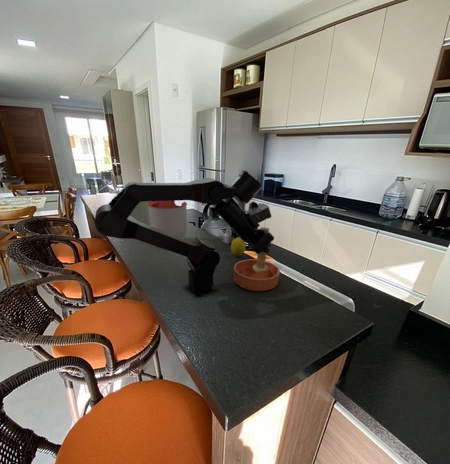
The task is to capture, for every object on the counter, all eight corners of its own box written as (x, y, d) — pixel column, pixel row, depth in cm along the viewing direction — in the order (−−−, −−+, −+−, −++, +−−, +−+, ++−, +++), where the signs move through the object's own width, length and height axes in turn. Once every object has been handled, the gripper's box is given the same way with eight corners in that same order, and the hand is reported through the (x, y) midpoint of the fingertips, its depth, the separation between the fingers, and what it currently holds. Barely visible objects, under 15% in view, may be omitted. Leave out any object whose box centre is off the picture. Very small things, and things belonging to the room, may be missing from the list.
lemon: (234, 260, 93) (236, 240, 90) (228, 255, 97) (228, 235, 94) (247, 258, 95) (249, 238, 92) (240, 253, 100) (241, 234, 96)
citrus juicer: (197, 240, 111) (197, 194, 102) (170, 252, 98) (167, 201, 89) (172, 233, 118) (169, 190, 109) (143, 243, 105) (137, 195, 96)
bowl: (255, 298, 70) (256, 284, 68) (224, 278, 80) (224, 266, 78) (287, 284, 78) (289, 271, 76) (255, 267, 88) (256, 256, 86)
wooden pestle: (265, 274, 76) (271, 232, 70) (250, 271, 77) (254, 229, 71) (269, 268, 80) (274, 227, 74) (254, 265, 81) (258, 225, 75)
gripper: (271, 201, 59) (303, 241, 67) (242, 189, 75) (270, 222, 83) (238, 235, 60) (273, 270, 69) (217, 215, 76) (247, 246, 84)
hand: (266, 250), depth 76 cm, fingers closed on wooden pestle, 2 cm apart
